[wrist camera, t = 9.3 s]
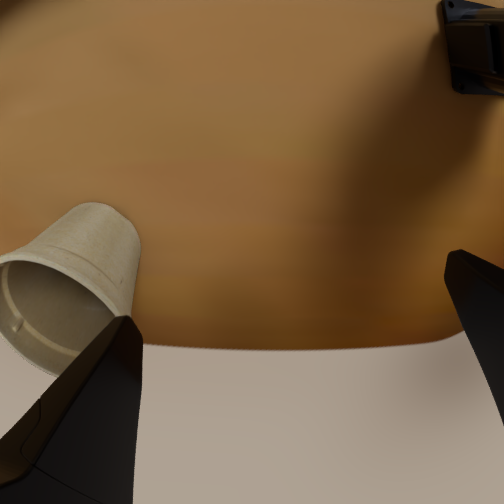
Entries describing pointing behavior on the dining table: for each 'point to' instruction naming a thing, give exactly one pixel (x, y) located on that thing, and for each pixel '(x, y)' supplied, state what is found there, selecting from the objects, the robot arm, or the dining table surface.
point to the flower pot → (68, 285)
